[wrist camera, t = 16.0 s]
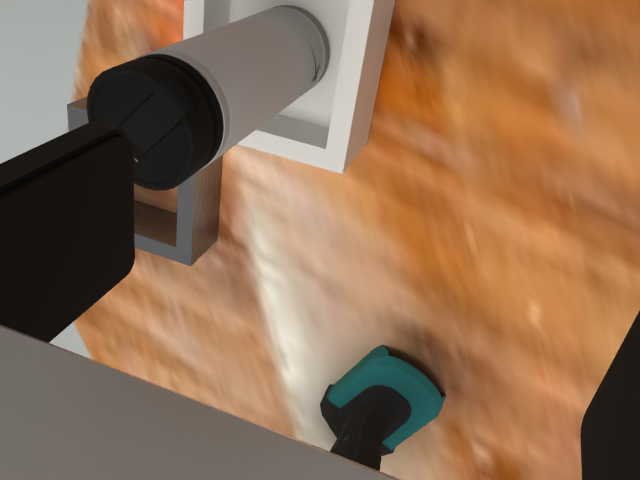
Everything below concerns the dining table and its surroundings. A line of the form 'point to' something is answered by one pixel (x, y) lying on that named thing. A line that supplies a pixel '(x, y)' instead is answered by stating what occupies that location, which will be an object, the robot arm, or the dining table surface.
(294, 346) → the dining table surface
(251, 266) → the dining table surface
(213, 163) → the socket block
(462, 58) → the dining table surface
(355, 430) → the power drill
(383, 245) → the dining table surface
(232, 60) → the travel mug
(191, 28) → the light grey square tray
